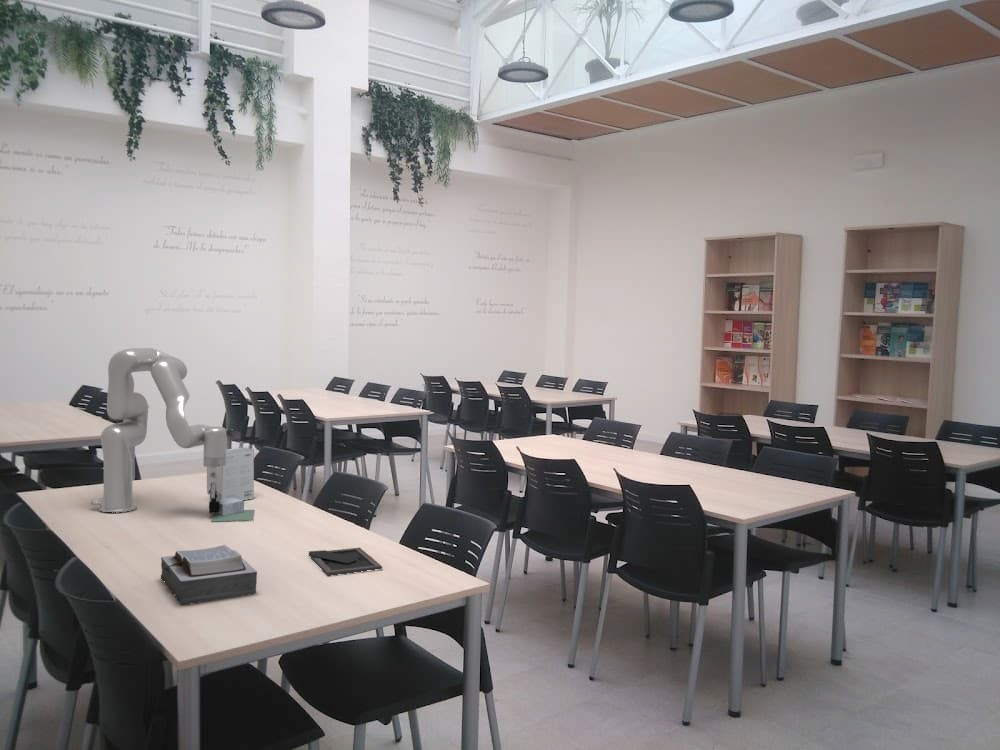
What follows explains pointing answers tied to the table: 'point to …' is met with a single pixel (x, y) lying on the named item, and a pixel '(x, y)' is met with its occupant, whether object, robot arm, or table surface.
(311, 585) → the table surface
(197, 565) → the book on foam base
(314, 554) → the picture frame
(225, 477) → the hard drive box
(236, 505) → the medicine box
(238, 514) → the felt pad
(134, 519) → the table surface
